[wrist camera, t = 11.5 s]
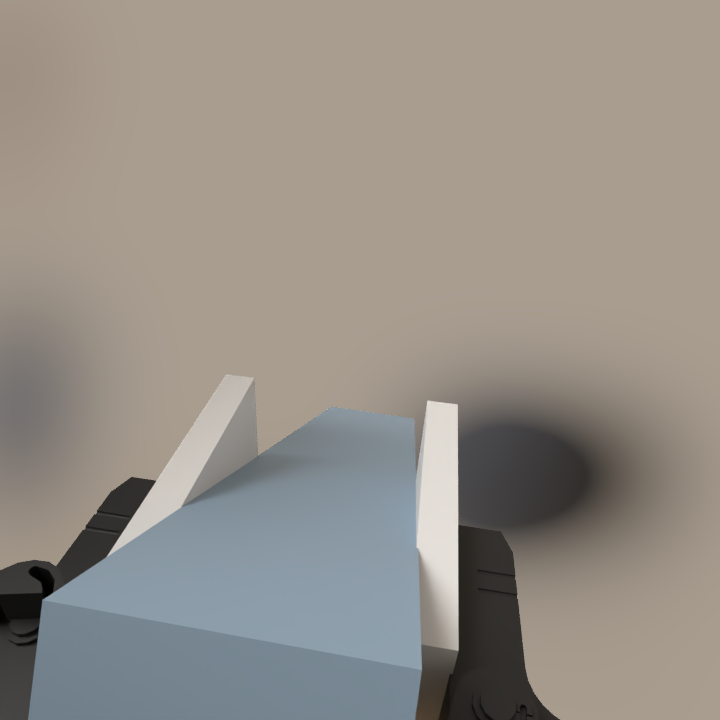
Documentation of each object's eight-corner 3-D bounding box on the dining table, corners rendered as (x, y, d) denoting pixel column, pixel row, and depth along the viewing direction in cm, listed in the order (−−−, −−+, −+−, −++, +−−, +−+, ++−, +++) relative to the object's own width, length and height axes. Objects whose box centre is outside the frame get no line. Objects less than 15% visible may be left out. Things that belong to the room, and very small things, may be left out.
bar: (324, 461, 31) (331, 406, 31) (406, 474, 30) (414, 418, 30) (12, 845, 7) (42, 600, 7) (385, 930, 6) (421, 669, 6)
